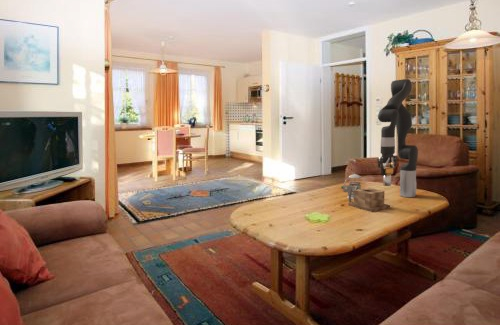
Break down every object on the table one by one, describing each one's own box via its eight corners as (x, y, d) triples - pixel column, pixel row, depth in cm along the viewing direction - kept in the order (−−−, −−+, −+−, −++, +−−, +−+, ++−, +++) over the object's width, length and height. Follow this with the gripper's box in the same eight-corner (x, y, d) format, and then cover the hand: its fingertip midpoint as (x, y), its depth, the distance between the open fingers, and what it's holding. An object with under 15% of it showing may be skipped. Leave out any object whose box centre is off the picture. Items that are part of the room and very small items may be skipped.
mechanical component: (358, 202, 215) (358, 186, 214) (341, 201, 217) (341, 186, 216) (358, 201, 218) (358, 185, 217) (341, 200, 220) (341, 185, 219)
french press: (360, 199, 221) (360, 160, 218) (342, 197, 227) (342, 160, 224) (364, 196, 230) (364, 158, 226) (346, 194, 236) (346, 158, 232)
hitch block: (366, 201, 216) (366, 186, 215) (390, 207, 200) (390, 191, 199) (348, 205, 209) (348, 189, 208) (371, 211, 193) (371, 195, 192)
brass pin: (386, 183, 202) (386, 166, 201) (395, 185, 197) (395, 168, 195) (379, 185, 199) (379, 167, 198) (387, 186, 194) (388, 169, 192)
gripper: (390, 144, 202) (390, 172, 204) (373, 145, 194) (373, 175, 197) (401, 144, 195) (401, 174, 197) (384, 146, 188) (384, 177, 190)
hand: (387, 174), depth 197 cm, fingers closed on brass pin, 6 cm apart
